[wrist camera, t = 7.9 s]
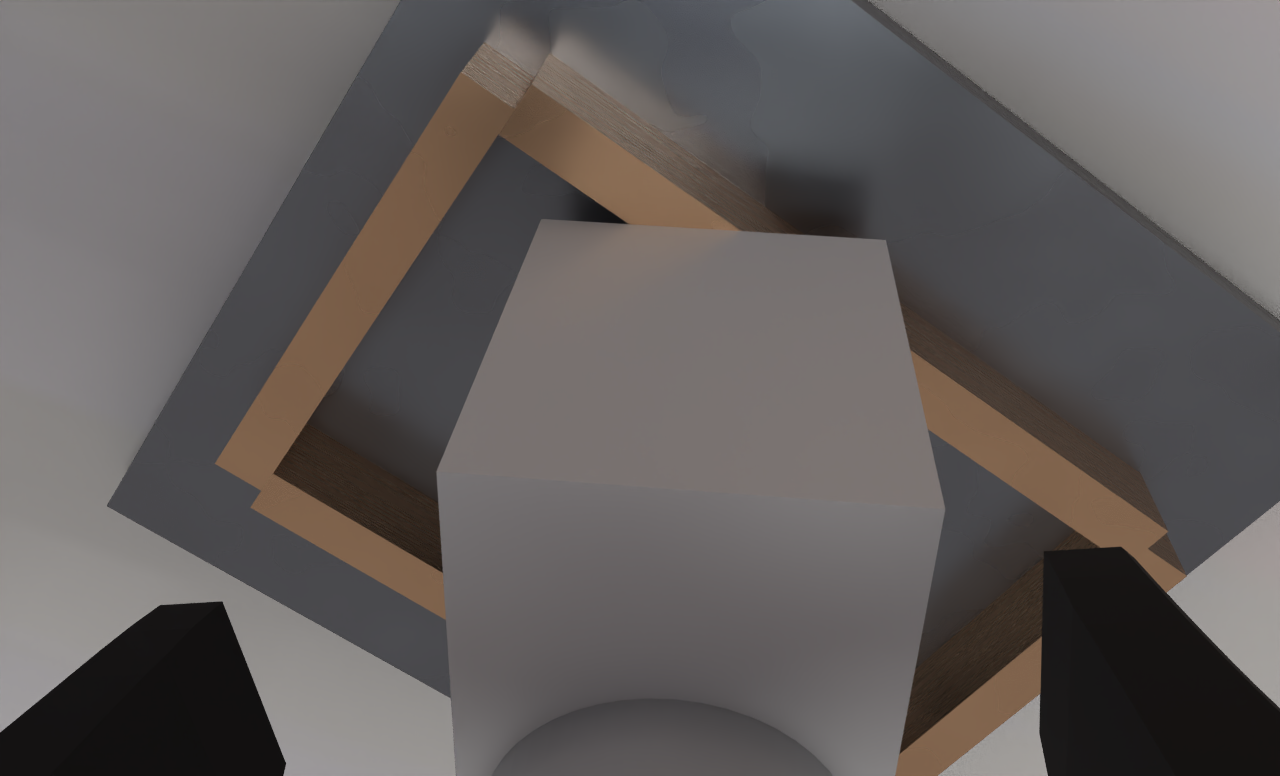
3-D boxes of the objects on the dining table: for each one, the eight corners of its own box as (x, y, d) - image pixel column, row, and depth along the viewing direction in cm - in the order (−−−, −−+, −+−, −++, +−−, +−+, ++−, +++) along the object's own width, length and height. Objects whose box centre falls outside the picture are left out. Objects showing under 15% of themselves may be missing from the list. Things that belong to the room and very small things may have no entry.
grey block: (546, 718, 21) (447, 1191, 14) (542, 218, 16) (392, 578, 10) (815, 741, 20) (840, 1234, 14) (885, 239, 16) (970, 622, 9)
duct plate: (132, 473, 22) (63, 559, 20) (553, -244, 16) (519, -233, 14) (792, 848, 25) (795, 957, 23) (1358, 381, 19) (1435, 471, 17)
